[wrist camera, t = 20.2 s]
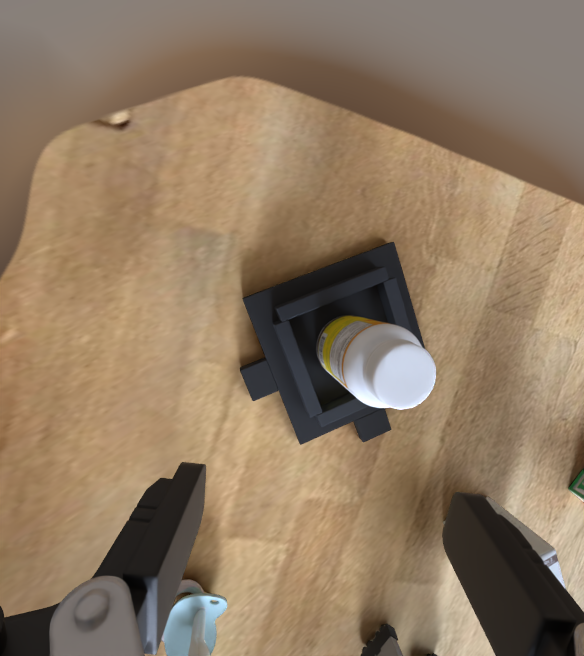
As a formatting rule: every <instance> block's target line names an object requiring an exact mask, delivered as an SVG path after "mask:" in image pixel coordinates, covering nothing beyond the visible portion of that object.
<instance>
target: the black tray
mask: <svg viewBox="0 0 584 656" xmlns="http://www.w3.org/2000/svg"><path fill="white" fill-rule="evenodd" d="M243 301H244V304H245V306H246V309H247V311H248V314H249V316H250V319H251V321H252V324H253V327H254V329H255V332H256V334H257V337H258V339H259V342H260V344H261V347H262V349H263V352H264V354H265V357H266V358H262V359H260V360H257V361H255V362H252V363H250V364H247V365H245V366H243V367H240V371H241V374H242V376H243V379H244V381H245V383H246V386H247V388H248V391H249V393H250V396H251V398H252V400H253V401H255V400H258V399H260V398H262V397H265V396H267V395H269V394H272V393H274V392H277V391H278V390H279V392H280V395H281V398H282V400H283V403H284V405H285V408H286V410H287V413H288V415H289V418H290V420H291V423H292V425H293V428H294V431H295V433H296V436H297V438H298V441H299V443H300V445H301V444H303V443H306V442H308V441H310V440H312V439H315V438H317V437H319V436H321V435H323V434H326V433H328V432H330V431H332V430H335V429H337V428H339V427H341V426H344V425H346V424H348V423H350V422H353V421H354V424H355V427H356V430H357V433H358V436H359V438H360V439H361V440H362V442H366V441H368V440H370V439H372V438H374V437H376V436H379V435H381V434H383V433H385V432H387V431H390V430H391V427H390V424H389V421H388V418H387V415H386V411H385V408H377V407H372V406H369V405H366V404H364V403H363V402H361V401H360V400H358V399H357V398H356V397H355V396H354V395H353V394H352V393H350V392H349V391H348V390H347V389H346V388H345V387H344V386H343V385H342V384H340V383H339V382H338V381H337V380H336V379H335V378H334V377H333V376H332V375H330V374H329V373H328V372H327V371H326V370H325V369H324V368H323V367H322V365H321V363H320V361H319V359H318V356H317V350H316V346H317V340H318V337H319V334H320V332H321V331H322V329H323V328H324V327H325V325H326V324H327V323H329V322H330V321H331V320H333V319H335V318H337V317H340V316H345V315H353V316H358V317H363V318H367V319H371V320H376V321H380V322H385V323H389V324H394V325H397V326H400V327H403V328H405V329H407V330H408V331H410V332H411V333H412V334H413V335H414V336H415V337H416V338H417V339H418V341H419V342H420V344H421V346H422V347H423V348H424V349H425V347H424V343H423V340H422V337H421V333H420V330H419V326H418V323H417V319H416V316H415V313H414V309H413V306H412V302H411V299H410V295H409V292H408V288H407V285H406V282H405V278H404V275H403V271H402V268H401V264H400V261H399V258H398V254H397V251H396V247H395V244H394V242H391V243H387V244H385V245H382V246H380V247H377V248H374V249H372V250H369V251H366V252H364V253H361V254H358V255H356V256H353V257H350V258H348V259H345V260H342V261H340V262H337V263H334V264H332V265H329V266H326V267H324V268H321V269H318V270H316V271H313V272H311V273H308V274H305V275H303V276H300V277H297V278H295V279H292V280H289V281H287V282H284V283H281V284H279V285H276V286H273V287H271V288H268V289H265V290H263V291H260V292H257V293H255V294H252V295H249V296H247V297H244V298H243ZM434 385H435V383H434Z"/></svg>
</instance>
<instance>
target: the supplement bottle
mask: <svg viewBox="0 0 584 656" xmlns="http://www.w3.org/2000/svg"><path fill="white" fill-rule="evenodd" d="M316 350H317V356H318V359H319V361H320V363H321V365H322V367H323V368H324V369H325V370H326V371H327V372H328V373H329V374H330V375H332V376H333V377H334V378H335V379H336V380H337V381H338V382H339V383H340V384H342V385H343V386H344V387H345V388H346V389H347V390H348V391H349V392H350V393H352V394H353V395H354V396H355V397H356V398H357V399H358V400H360V401H361V402H363V403H364V404H366V405H369V406H372V407H377V408H389V407H391V408H394V409H409V408H412V407H415V406H417V405H418V404H420V403H421V402H423V401H424V400H425V399H426V398H427V397H428V395H429V394H430V392H431V391H432V389H433V386H434V383H435V379H436V367H435V363H434V361H433V358H432V357H431V355H430V354H429V353H428V352H427V351H426V350H425V349H424V348H423V347H422V346H421V344H420V342H419V341H418V339H417V338H416V337H415V336H414V335H413V334H412V333H411V332H410V331H408V330H407V329H405V328H403V327H400V326H397V325H394V324H389V323H385V322H380V321H376V320H371V319H367V318H363V317H358V316H353V315H345V316H340V317H337V318H335V319H333V320H331V321H330V322H329V323H327V324H326V325H325V327H324V328H323V329H322V331H321V332H320V334H319V337H318V340H317V346H316Z"/></svg>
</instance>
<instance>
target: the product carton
mask: <svg viewBox="0 0 584 656" xmlns="http://www.w3.org/2000/svg"><path fill="white" fill-rule="evenodd" d="M486 499H487V501H488V502H489V503H490V505H491V506H492V507H493V509H494V510H495V511H496V513H497V514H501V515H502V516H503V517H505V518H506V519H507V520H508V521H509V522H511V523H512V524H513V525H514V526H515V527H516V528H518V529H519V530H520V532H521V533H522V534H523V535H524V537H525V538H526V539H527V541H528V542H529V543H530V544H531V546H532V549H533V550H535V551H536V552H537V553H538V555H539V556H540V557H541V558H542V560H543V562H544V565H547V566H548V567H549V569H550V570H551V571H552V573H553V574H554V575H555V576H556V578H557V579H558V580H559V581H560V583H561V584H562V585H563V587H564V588H565V584H564V581H563V577H562V574H561V570H560V566H559V562H558V559H557V555H556V551H555V549H554V548H553V547H552V546H551V545H550V544H548V543H547V542H546V541H545V540H543V539H542V538H541V537H539V536H538V535H537V534H536V533H534V532H533V531H532V530H531V529H529V528H528V527H527V526H525V525H524V524H523V523H522V522H520V521H519V520H518V519H517V518H515V517H514V516H513V515H512V514H510V513H509V512H508V511H507V510H505V509H504V508H503V507H502V506H500V505H499V504H498V503H496V502H495V501H494V500H493V499H491V498H490V497H486ZM445 521H446V520H445ZM445 521H443V524H445ZM565 589H566V588H565Z"/></svg>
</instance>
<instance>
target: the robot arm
mask: <svg viewBox="0 0 584 656" xmlns="http://www.w3.org/2000/svg"><path fill="white" fill-rule="evenodd" d="M205 481H206V465H205V464H196V463H187V462H182V463H181V464H180V465H179V467H178V469H177V471H176V473H175V475H174V477H173V479H167V478H160V479H159V480H158V481H156V482H155V483H154V484H153V485H151V486H150V487H149V488H148V489H147V490H146V491H145V493H144V494H143V496H142V498H141V499H140V501H139V503H138V504H137V507H136V508H135V509H134V511H133V512H132V514H131V516H130V518H129V521H127V522H126V524H125V526H124V527H123V529H122V531H121V532H120V534H119V535H118V537H117V539H116V540H115V542H114V544H113V545H112V547H111V549H110V550H109V552H108V553H107V555H106V557H105V558H104V560H103V562H102V563H101V565H100V567H99V568H98V570H97V572H96V573H95V574H94V576H93V577H92V578H91V579H90V580H88V581H86V582H84V583H82V584H81V585H79V586H78V587H76V588H75V589H74V590H72V591H71V592H70V593H69V594H68V595H67V596H66V597H65V598H64V599H63V600H62V602H60V603H58V604H56V605H53V606H50V607H47V608H43V609H39V610H35V611H31V612H26V613H22V614H18V615H14V616H9V617H5V618H4V613H3V610H2V608H1V606H0V656H145V654H155V655H156V653H157V650H158V647H159V645H160V642H161V639H162V636H163V633H164V630H165V627H166V624H167V621H168V618H169V615H170V612H171V609H172V606H173V603H174V600H175V598H176V595H177V592H178V589H179V586H180V583H181V580H182V577H183V574H184V571H185V568H186V565H187V562H188V559H189V556H190V554H191V551H192V548H193V545H194V542H195V539H196V536H197V533H198V530H199V527H200V524H201V520H202V515H203V510H204V499H205ZM442 537H443V545H444V549H445V552H446V554H447V556H448V558H449V560H450V562H451V564H452V566H453V568H454V571H455V573H456V575H457V577H458V579H459V581H460V583H461V585H462V587H463V589H464V591H465V593H466V595H467V597H468V599H469V601H470V603H471V605H472V608H473V610H474V612H475V614H476V616H477V618H478V620H479V622H480V624H481V626H482V628H483V630H484V632H485V634H486V636H487V638H488V640H489V642H490V645H491V647H492V649H493V651H494V653H495V655H496V656H584V612H583V611H582V610H581V608H580V607H579V606H578V604H577V603H576V602H575V601H574V599H573V598H572V597H571V596H570V594H569V593H568V592H567V590H566V589H565V588H564V587H563V585H562V584H561V583H560V581H559V580H558V579H557V578H556V576H555V575H554V574H553V573H552V571H551V570H550V569H549V567H548V566H547V565H544V562H543V560H542V558H541V557H540V556H539V555H538V553H537V552H536V551H535V550H533V549H532V546H531V544H530V543H529V542H528V541H527V539H526V538H525V537H524V535H523V534H522V533H521V532H520V530H519V529H518V528H516V527H515V526H514V525H513V524H512V523H511V522H509V521H508V520H507V519H506V518H505V517H503V516H502V515H501V514H497V513H496V511H495V510H494V509H493V507H492V506H491V505H490V503H489V502H488V501H487V499H486V498H485V497H484V496H483V495H480V494H472V493H462V492H456V493H454V495H453V497H452V500H451V504H450V507H449V510H448V514H447V517H446V521H445V524H444V528H443V535H442Z"/></svg>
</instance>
